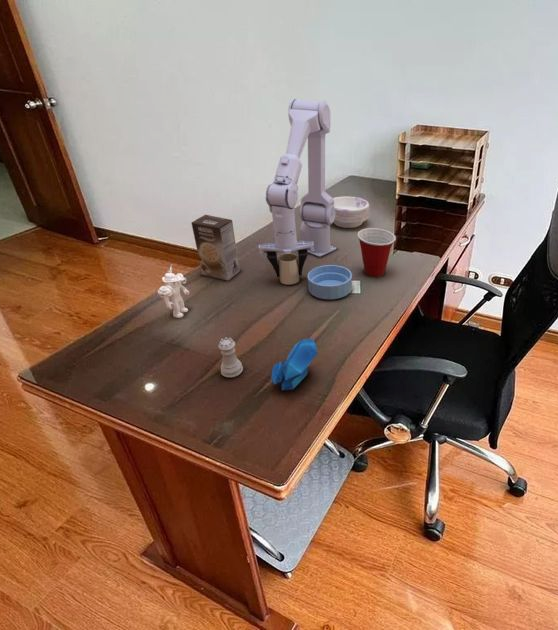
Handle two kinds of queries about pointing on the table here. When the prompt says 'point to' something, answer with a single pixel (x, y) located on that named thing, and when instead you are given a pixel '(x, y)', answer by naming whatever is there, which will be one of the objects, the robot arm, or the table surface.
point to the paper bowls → (350, 211)
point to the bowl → (329, 282)
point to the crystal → (294, 365)
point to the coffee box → (216, 247)
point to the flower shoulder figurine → (174, 292)
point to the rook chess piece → (229, 359)
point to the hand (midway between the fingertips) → (289, 274)
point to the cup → (288, 268)
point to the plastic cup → (375, 249)
